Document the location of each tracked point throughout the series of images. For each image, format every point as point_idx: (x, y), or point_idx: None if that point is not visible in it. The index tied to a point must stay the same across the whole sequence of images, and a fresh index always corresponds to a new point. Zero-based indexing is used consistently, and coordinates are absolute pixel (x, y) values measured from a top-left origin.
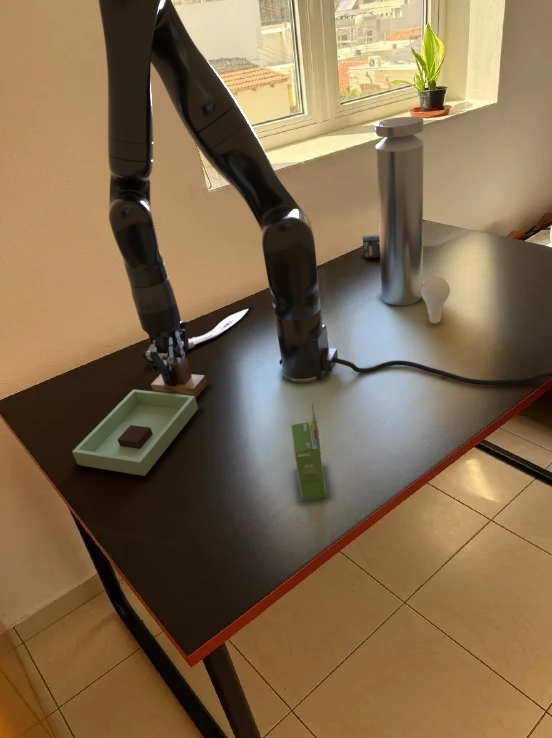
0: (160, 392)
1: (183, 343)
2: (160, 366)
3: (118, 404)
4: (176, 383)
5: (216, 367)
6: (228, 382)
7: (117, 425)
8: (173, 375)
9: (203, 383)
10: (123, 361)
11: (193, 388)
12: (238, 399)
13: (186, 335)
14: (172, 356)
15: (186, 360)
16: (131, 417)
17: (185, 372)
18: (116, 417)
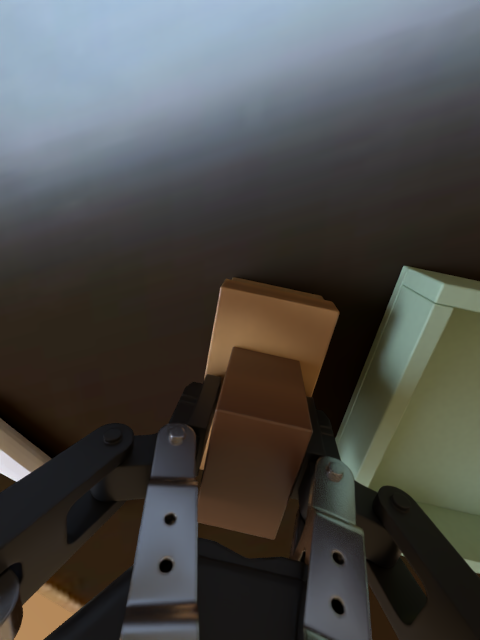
0: (373, 445)
1: (98, 481)
2: (475, 575)
3: None
4: (308, 398)
5: (82, 274)
6: (190, 185)
7: (458, 513)
8: (320, 432)
9: (250, 285)
10: (91, 560)
11: (338, 312)
12: (338, 84)
13: (22, 504)
14: (330, 527)
15: (227, 404)
16: (414, 485)
17: (270, 380)
18: (465, 537)
